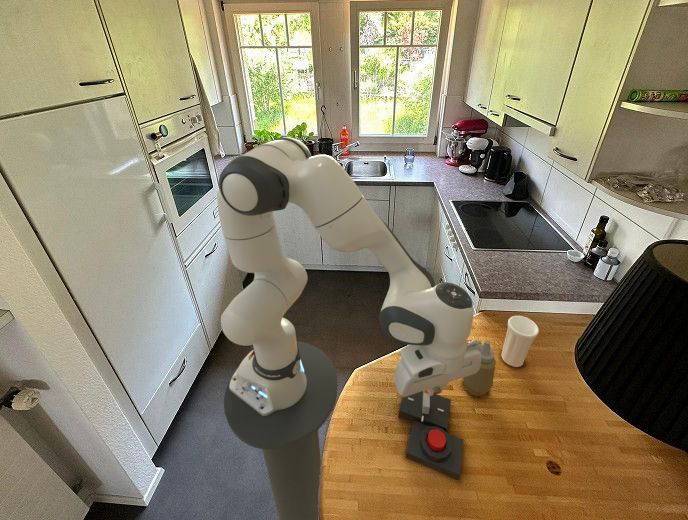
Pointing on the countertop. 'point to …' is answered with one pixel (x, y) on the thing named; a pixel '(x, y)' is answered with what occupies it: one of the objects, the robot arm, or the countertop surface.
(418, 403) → the control panel
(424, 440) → the power base
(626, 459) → the countertop surface
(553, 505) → the countertop surface
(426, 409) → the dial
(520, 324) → the cup
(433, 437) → the power button
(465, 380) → the squeeze bottle
